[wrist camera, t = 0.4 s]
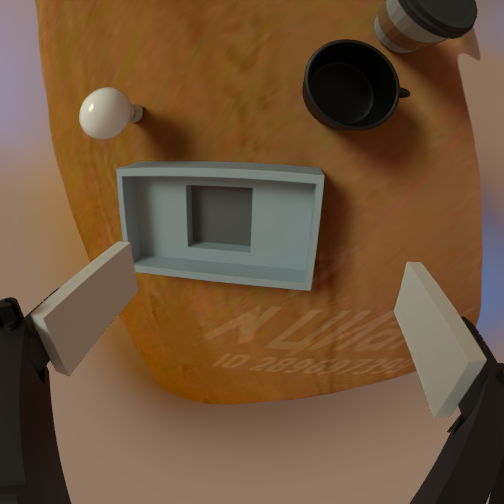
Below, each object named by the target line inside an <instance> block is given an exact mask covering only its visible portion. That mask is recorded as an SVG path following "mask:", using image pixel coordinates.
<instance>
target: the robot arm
mask: <svg viewBox="0 0 504 504" xmlns="http://www.w3.org/2000/svg"><path fill="white" fill-rule="evenodd" d="M137 292H138V286H137V280H136V275H135V269H134V263H133V257H132V250H131V243H130V242H117V243H115V244H114V245H113V246H111V247H110V248H109V249H107V250H106V251H105V252H104V253H102V254H101V255H100V256H98V257H97V258H96V259H95V260H93V261H92V262H91V263H90V264H88V265H87V266H86V267H85V268H83V269H82V270H81V271H80V272H78V273H77V274H76V275H75V276H74V277H72V278H71V279H70V280H69V281H68V282H66V283H65V284H64V285H63V286H62V287H60V288H58V289H56V290H55V291H54V292H53V293H52V294H51V295H49V297H47V298H46V299H45V300H44V301H43V302H41V303H40V304H39V305H38V306H37V307H36V308H34V309H33V310H32V311H31V312H30V313H29V314H28V315H27V316H26V317H25V318H24V316H23V314H22V311H21V309H20V306H19V304H18V301H17V300H16V299H15V298H12V297H10V298H5V299H2V300H0V504H71V501H70V498H69V494H68V490H67V487H66V483H65V479H64V475H63V471H62V466H61V462H60V457H59V452H58V446H57V441H56V434H55V428H54V421H53V413H52V405H51V394H50V380H49V371H48V368H47V367H46V365H47V363H48V362H49V361H51V363H52V365H53V366H54V368H55V370H56V371H57V372H59V373H62V374H65V375H67V376H70V375H71V373H72V372H73V371H74V369H75V368H76V367H77V365H78V364H79V363H80V362H81V361H82V359H83V358H84V357H85V355H86V354H87V353H88V352H89V350H90V349H91V348H92V347H93V345H94V344H95V343H96V341H97V340H98V339H99V338H100V336H101V335H102V334H103V333H104V331H105V330H106V329H107V328H108V327H109V325H110V324H111V323H112V321H113V320H114V319H115V318H116V317H117V316H118V314H119V313H120V312H121V311H122V310H123V308H124V307H125V306H126V305H127V304H128V302H129V301H130V300H131V299H132V298H133V297H134V295H135V294H136V293H137ZM394 314H395V316H396V318H397V321H398V323H399V326H400V328H401V330H402V333H403V335H404V338H405V340H406V343H407V345H408V348H409V351H410V353H411V356H412V359H413V361H414V364H415V367H416V369H417V372H418V374H419V378H420V381H421V383H422V386H423V389H424V392H425V395H426V398H427V401H428V405H429V408H430V411H431V414H432V418H433V419H437V418H444V417H450V416H451V415H452V413H453V412H454V411H455V409H456V408H457V406H459V409H460V411H461V415H460V416H459V417H458V418H457V420H456V421H455V422H454V424H453V425H452V426H451V427H450V429H449V430H448V431H447V432H449V433H450V432H451V433H450V435H449V437H448V439H447V441H446V443H445V445H444V447H443V449H442V451H441V453H440V455H439V456H438V459H437V460H436V462H435V464H434V466H433V467H432V469H431V471H430V472H429V474H428V476H427V477H426V479H425V481H424V482H423V484H422V485H421V487H420V489H419V490H418V492H417V493H416V495H415V496H414V498H413V499H412V501H411V502H410V504H486V502H487V499H488V497H489V495H490V498H489V503H488V504H504V364H503V363H497V361H496V359H495V358H494V356H493V354H492V353H491V351H490V349H489V348H488V346H487V345H486V343H485V341H483V338H482V337H481V335H480V334H479V332H478V331H477V329H476V328H475V326H474V325H473V324H472V323H471V322H470V321H469V320H468V319H467V318H465V317H460V316H459V314H458V313H457V311H456V310H455V308H454V307H453V305H452V304H451V302H450V301H449V299H448V298H447V297H446V295H445V294H444V292H443V291H442V290H441V288H440V287H439V285H438V284H437V283H436V281H435V280H434V279H433V277H432V276H431V275H430V273H429V272H428V271H427V269H426V268H425V267H424V265H423V264H422V263H421V262H407V264H406V268H405V272H404V276H403V280H402V284H401V288H400V291H399V295H398V299H397V302H396V306H395V309H394ZM451 430H452V431H451ZM490 492H491V493H490Z"/></svg>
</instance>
